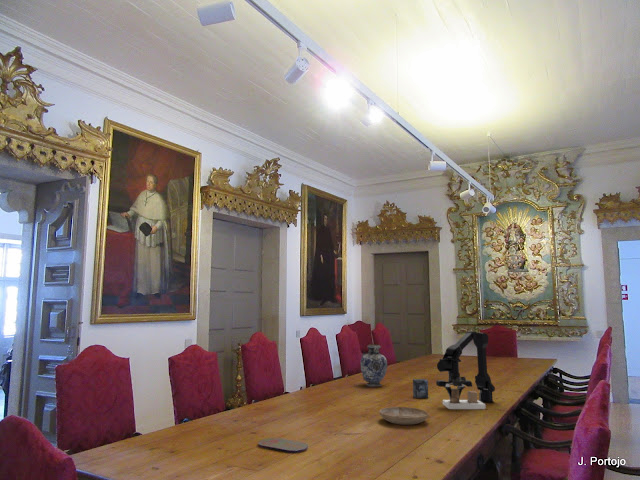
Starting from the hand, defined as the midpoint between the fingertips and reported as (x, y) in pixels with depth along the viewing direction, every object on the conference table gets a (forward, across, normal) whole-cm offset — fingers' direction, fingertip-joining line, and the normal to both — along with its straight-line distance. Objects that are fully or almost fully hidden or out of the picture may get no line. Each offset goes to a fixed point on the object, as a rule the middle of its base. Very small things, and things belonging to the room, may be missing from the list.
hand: (454, 399), depth 260 cm
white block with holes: (+4, +5, 0) cm, 6 cm away
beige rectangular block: (+2, 0, 0) cm, 2 cm away
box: (+4, -13, +26) cm, 29 cm away
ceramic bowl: (+4, -35, -33) cm, 48 cm away
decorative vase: (+4, -36, +67) cm, 76 cm away
